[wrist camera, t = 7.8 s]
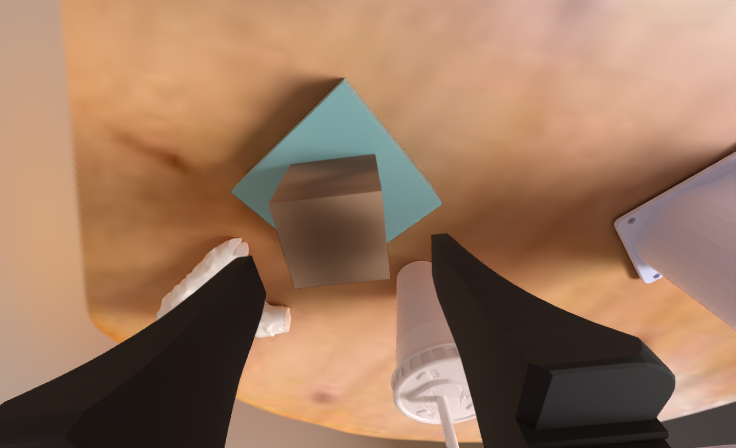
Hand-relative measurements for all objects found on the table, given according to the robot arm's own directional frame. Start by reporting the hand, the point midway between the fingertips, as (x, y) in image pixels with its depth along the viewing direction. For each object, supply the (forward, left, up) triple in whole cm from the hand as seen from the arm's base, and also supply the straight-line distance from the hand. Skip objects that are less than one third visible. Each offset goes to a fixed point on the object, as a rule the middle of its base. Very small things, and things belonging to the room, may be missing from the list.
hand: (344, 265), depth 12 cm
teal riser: (+1, 0, -9) cm, 9 cm away
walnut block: (+1, 0, -7) cm, 7 cm away
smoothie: (+2, +10, -10) cm, 14 cm away
